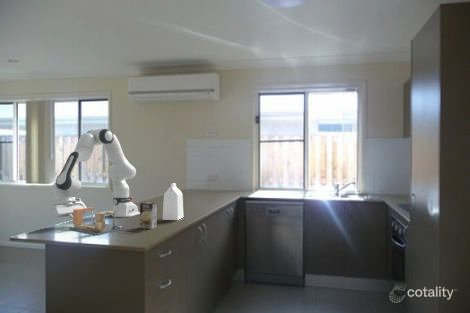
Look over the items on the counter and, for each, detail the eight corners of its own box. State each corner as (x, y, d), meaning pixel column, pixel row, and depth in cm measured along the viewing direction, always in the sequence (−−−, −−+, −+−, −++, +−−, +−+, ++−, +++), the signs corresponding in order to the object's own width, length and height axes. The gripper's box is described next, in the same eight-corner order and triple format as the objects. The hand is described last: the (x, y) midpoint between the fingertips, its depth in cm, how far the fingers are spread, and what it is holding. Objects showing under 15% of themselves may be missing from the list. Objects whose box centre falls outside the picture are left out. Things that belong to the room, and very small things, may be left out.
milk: (177, 221, 247) (178, 184, 247) (162, 220, 249) (162, 184, 249) (183, 218, 259) (183, 183, 258) (169, 217, 261) (169, 182, 261)
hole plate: (97, 223, 235) (97, 220, 235) (124, 229, 220) (125, 225, 220) (69, 229, 218) (69, 225, 218) (97, 235, 203) (97, 231, 203)
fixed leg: (91, 223, 230) (91, 207, 230) (117, 228, 216) (117, 211, 216) (73, 227, 219) (73, 209, 219) (99, 232, 205) (99, 214, 205)
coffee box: (139, 228, 224) (139, 203, 223) (144, 226, 230) (144, 201, 230) (152, 229, 221) (152, 203, 221) (157, 226, 227) (157, 202, 227)
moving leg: (91, 222, 230) (91, 206, 230) (95, 223, 228) (95, 207, 228) (73, 225, 219) (73, 209, 219) (77, 226, 217) (77, 210, 217)
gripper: (52, 201, 216) (61, 219, 211) (82, 198, 233) (91, 214, 228) (48, 208, 219) (57, 225, 213) (78, 204, 236) (87, 220, 231)
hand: (75, 219), depth 221 cm, fingers closed, pressing on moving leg
